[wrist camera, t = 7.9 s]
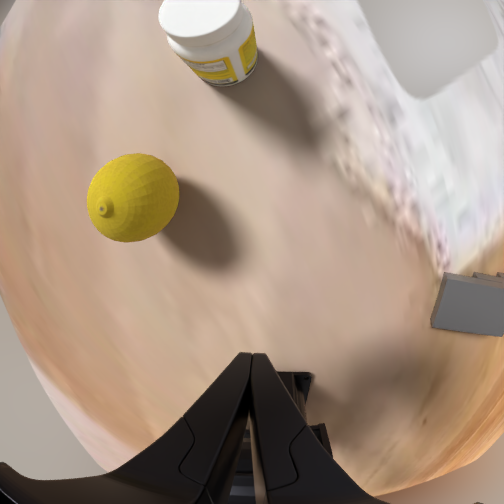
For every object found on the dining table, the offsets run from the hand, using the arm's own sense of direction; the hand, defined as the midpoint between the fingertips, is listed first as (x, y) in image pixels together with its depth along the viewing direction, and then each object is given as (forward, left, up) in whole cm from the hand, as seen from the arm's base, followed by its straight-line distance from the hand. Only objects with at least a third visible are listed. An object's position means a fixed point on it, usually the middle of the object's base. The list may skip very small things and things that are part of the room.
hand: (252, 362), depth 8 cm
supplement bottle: (+14, +3, -13) cm, 19 cm away
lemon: (+4, +8, -13) cm, 16 cm away
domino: (-4, -17, -12) cm, 21 cm away
